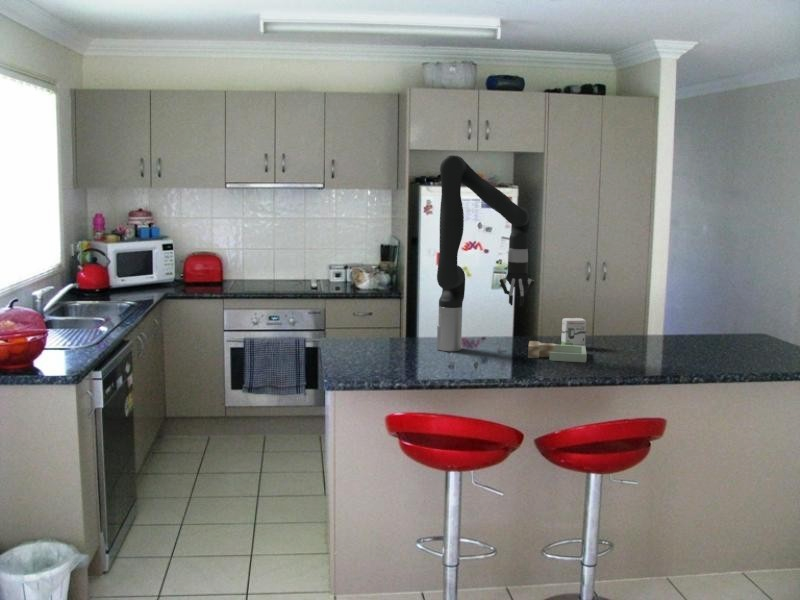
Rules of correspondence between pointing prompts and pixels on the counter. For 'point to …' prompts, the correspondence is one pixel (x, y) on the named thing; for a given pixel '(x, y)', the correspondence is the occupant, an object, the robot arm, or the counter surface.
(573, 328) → the ink box
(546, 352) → the t block
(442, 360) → the counter surface
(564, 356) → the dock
